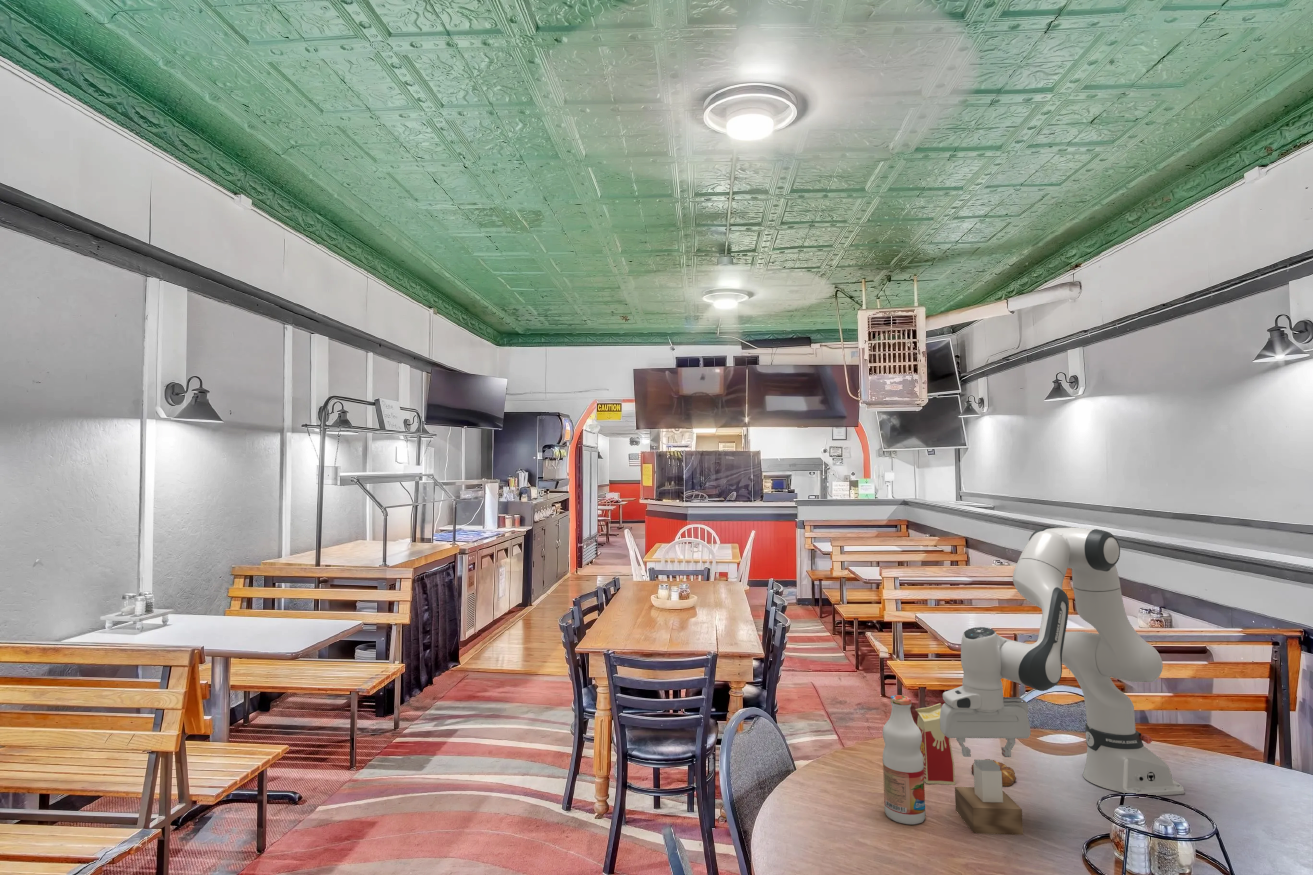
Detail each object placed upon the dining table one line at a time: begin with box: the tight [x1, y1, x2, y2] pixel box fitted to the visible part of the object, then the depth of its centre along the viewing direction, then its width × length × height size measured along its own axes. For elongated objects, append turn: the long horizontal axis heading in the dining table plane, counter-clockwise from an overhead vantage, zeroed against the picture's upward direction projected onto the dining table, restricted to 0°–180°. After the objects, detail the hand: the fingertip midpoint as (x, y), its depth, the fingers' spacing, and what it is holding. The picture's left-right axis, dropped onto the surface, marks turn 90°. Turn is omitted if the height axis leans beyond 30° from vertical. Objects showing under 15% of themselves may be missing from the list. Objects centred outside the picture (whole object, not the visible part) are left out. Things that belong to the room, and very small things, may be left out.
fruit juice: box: [882, 694, 926, 825], centre depth 160 cm, size 9×9×28 cm
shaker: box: [972, 759, 1004, 803], centre depth 157 cm, size 5×5×8 cm
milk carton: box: [915, 702, 956, 786], centre depth 182 cm, size 9×9×20 cm
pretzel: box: [970, 758, 1017, 787], centre depth 181 cm, size 12×11×4 cm
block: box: [954, 786, 1024, 836], centre depth 156 cm, size 11×11×6 cm
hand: (986, 755), depth 158 cm, fingers open, 8 cm apart
